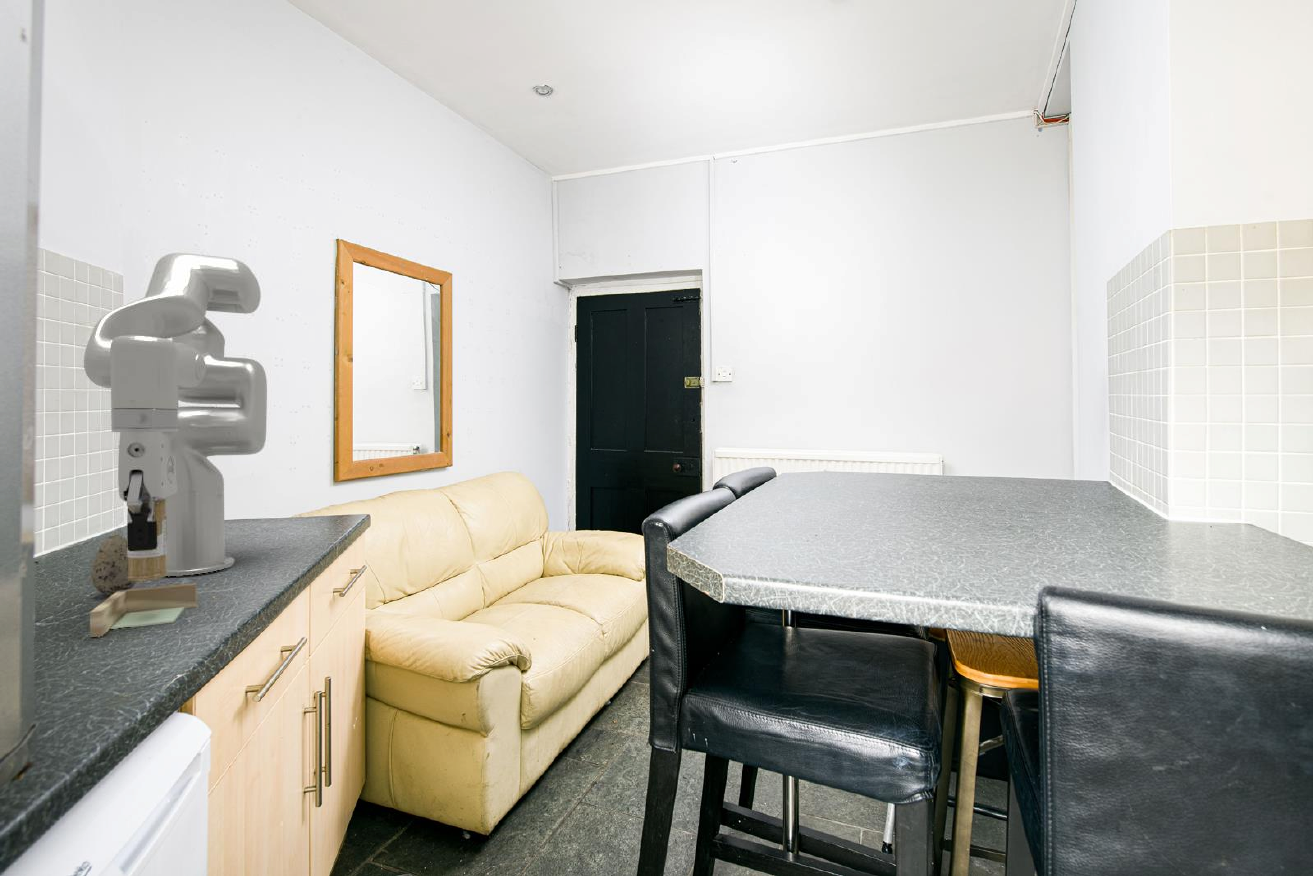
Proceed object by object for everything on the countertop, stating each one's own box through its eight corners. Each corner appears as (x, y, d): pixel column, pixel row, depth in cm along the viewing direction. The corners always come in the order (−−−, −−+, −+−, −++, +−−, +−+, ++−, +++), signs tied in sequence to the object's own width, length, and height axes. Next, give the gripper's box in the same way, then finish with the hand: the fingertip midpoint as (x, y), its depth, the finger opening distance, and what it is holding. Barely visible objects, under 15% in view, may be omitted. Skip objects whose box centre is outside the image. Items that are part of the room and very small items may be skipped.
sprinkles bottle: (124, 583, 86) (123, 489, 85) (130, 576, 89) (128, 486, 89) (166, 579, 88) (164, 487, 88) (169, 572, 92) (168, 484, 92)
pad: (126, 615, 91) (126, 613, 91) (184, 608, 94) (184, 607, 94) (110, 629, 84) (110, 627, 84) (173, 622, 88) (173, 620, 88)
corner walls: (118, 613, 91) (118, 590, 91) (197, 604, 96) (196, 583, 96) (90, 638, 81) (89, 612, 81) (179, 627, 86) (179, 603, 86)
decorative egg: (141, 595, 101) (140, 535, 101) (92, 602, 97) (91, 540, 96) (138, 587, 105) (137, 530, 105) (91, 594, 101) (89, 534, 101)
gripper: (163, 422, 83) (165, 555, 83) (190, 422, 97) (192, 535, 98) (90, 421, 79) (93, 561, 79) (130, 421, 94) (132, 539, 94)
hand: (147, 545), depth 89 cm, fingers closed on sprinkles bottle, 4 cm apart
